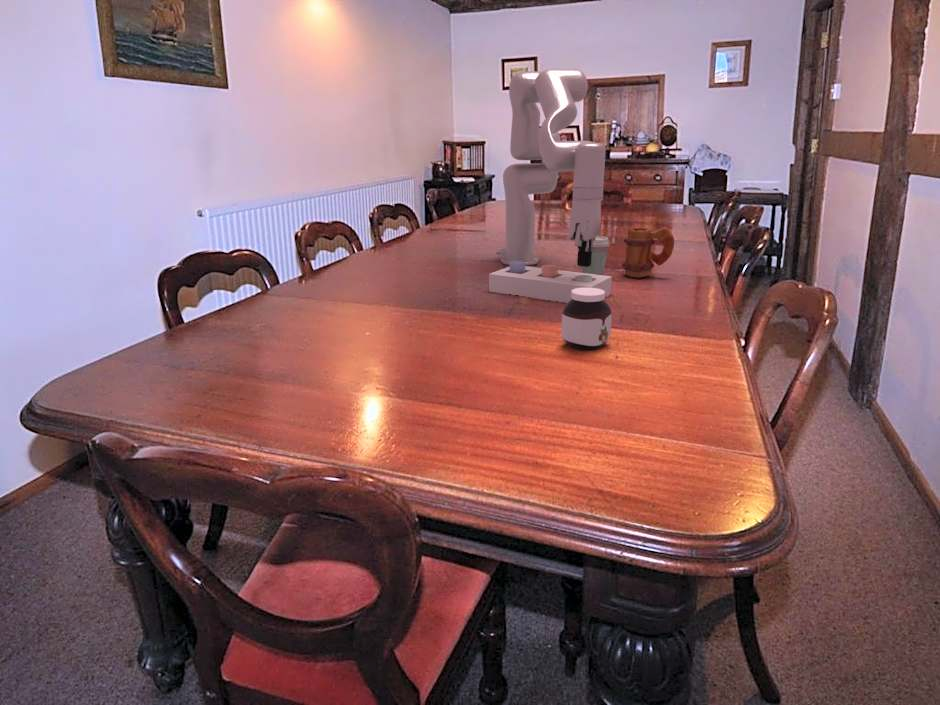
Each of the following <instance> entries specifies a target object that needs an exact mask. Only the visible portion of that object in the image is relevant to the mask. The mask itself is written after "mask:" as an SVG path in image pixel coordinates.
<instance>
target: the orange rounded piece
mask: <svg viewBox="0 0 940 705" xmlns="http://www.w3.org/2000/svg"><path fill="white" fill-rule="evenodd" d="M541 268H542V276H541V277H548V278H556V277H558V270H559V265H557V264H553V263H552V264H550V263H549V264H548V263H547V264H542V265H541Z"/></svg>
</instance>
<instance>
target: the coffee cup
mask: <svg viewBox="0 0 940 705" xmlns="http://www.w3.org/2000/svg"><path fill="white" fill-rule="evenodd" d="M609 246H610V241H609V238H608V237H607V236H603V235H602V236H601V235H598V236H597V237H596V239H595V241H594V242H593V249H592V250H590V251H592V258H591V266H589V267H584V266H581V268H582V273H587V274H596V275H604V273H605V268H606V262H607V256H608V249H609Z"/></svg>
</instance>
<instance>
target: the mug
mask: <svg viewBox="0 0 940 705" xmlns="http://www.w3.org/2000/svg"><path fill="white" fill-rule="evenodd" d="M654 239H656V240H657V241H659V242H660V243H662V244H663V247H662V251H661V252H660V253H658V254H656V253H653V252H651V251H652V250H651V249H652V248H651V246H652V245H654V244H655V243H656V242H655V240H654ZM623 242H624V243H625V245H626V250H625V251H626V253H625V261H624V262H623V263H621V267H622V268H623V269H624V273H625V275H626V276H628V277H630V278H633V277H634V278H635V279H637V278H644V277H645V278H646V277H648V276H649V275H651V274H652V269H653V268H654V267H655V264H656V265H657V266H662V265H663V264H664V263H666V262H667V261H668V260H669V258H671V256H672V253H673V251H674V248H675V238H674V235H673V233H672V231H671V230H670V229H669V228H668V227H666V226H664V227H661V228H659V229H658V230H656V231H655V230H653V231H652V230H651V228H647V227H646V228H644V227H638V228H637V227H630V228H628V233H627V237H626V238H624V240H623ZM653 262H654V263H655V264H654V263H653Z"/></svg>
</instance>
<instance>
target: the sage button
mask: <svg viewBox="0 0 940 705" xmlns="http://www.w3.org/2000/svg"><path fill="white" fill-rule="evenodd" d="M575 281H580V282H588V283H590V282H592V276H589V275H578V276H576V277H575Z"/></svg>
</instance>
